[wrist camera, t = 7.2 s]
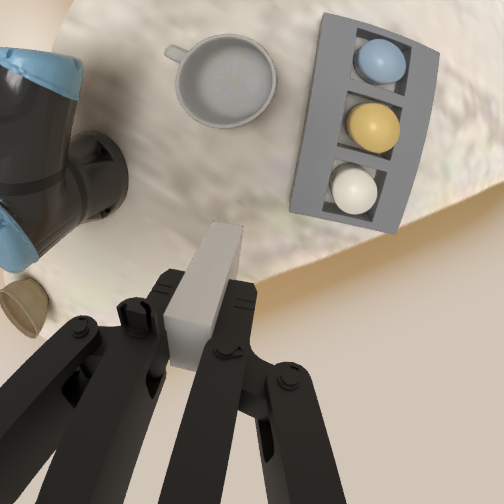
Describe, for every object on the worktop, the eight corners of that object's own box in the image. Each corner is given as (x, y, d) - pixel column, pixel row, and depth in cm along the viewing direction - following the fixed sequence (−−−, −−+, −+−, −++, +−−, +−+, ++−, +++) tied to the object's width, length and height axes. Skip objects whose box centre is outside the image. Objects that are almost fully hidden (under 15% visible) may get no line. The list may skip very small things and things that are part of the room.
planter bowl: (53, 322, 65) (35, 346, 56) (18, 287, 61) (-2, 308, 52) (62, 297, 58) (39, 325, 49) (22, 257, 54) (-3, 280, 45)
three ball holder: (289, 201, 38) (289, 212, 35) (320, 21, 25) (323, 12, 21) (387, 222, 38) (395, 235, 34) (426, 56, 24) (439, 52, 21)
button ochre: (341, 140, 30) (347, 145, 27) (350, 97, 28) (357, 97, 24) (383, 151, 30) (393, 158, 27) (392, 110, 27) (404, 112, 24)
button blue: (350, 77, 28) (357, 74, 24) (356, 39, 25) (363, 32, 21) (391, 89, 27) (402, 89, 24) (396, 53, 25) (408, 48, 21)
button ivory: (325, 198, 37) (328, 209, 33) (334, 159, 34) (339, 166, 30) (363, 207, 36) (370, 218, 33) (373, 169, 33) (382, 177, 30)
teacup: (297, 85, 30) (298, 80, 23) (237, 139, 35) (223, 149, 28) (221, 19, 26) (202, 1, 19) (166, 75, 31) (137, 72, 24)
